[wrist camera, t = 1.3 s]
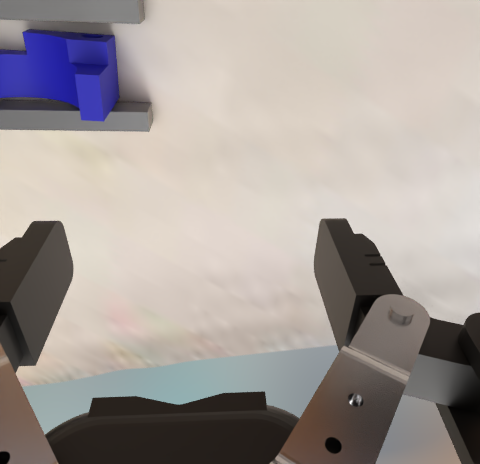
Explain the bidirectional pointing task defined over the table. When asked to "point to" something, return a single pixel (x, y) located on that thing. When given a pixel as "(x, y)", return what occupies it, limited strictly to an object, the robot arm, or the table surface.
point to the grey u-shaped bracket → (62, 113)
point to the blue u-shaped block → (64, 71)
